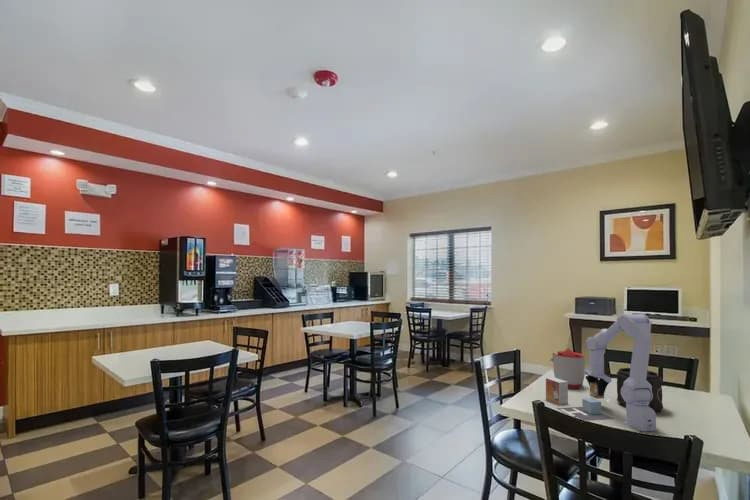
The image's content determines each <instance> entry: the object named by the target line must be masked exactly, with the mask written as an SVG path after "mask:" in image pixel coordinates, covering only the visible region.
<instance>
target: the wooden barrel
mask: <svg viewBox="0 0 750 500" xmlns="http://www.w3.org/2000/svg"><path fill="white" fill-rule="evenodd" d="M630 369H631V367H621V368H618V371H616V375H615V377H616V393H617V394H616V395H617V396H616V401H617V403H619V406H622V407H623V408H626V402H625V401H624V399H623V398H622V396H621V388H622V386H623V383H624V381H625V380H626V379H628V378H629V377H630ZM646 381H647V382H648V383H650V384H651V385H652V393H653V398H652V400H651V401H650V402H649V404H648V406H649V407H650V408H652V409H653V410H654V411H655V414H658V413H661V411H662V410H663V409H664V404H663V388H662V383H663V379H662V377H661V376H660V374H659V373H658V372H655V371H651V370H648V369H647V378H646Z"/></svg>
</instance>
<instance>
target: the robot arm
mask: <svg viewBox="0 0 750 500" xmlns="http://www.w3.org/2000/svg"><path fill="white" fill-rule="evenodd" d="M652 323H653V322H652V321H651V319H650V318H649V317H648V316H647V314H643V313H639V314H638V313H637V314H635V313H633V314H632V313H631V314H629V313H627V314H626V313H621V314H620V315H619V316H617V317H616V320H615V322H613V324H611V325H610V326H609V327H608V328H601V329H600V331H599V332H598V333H595V334H594V336H589V337H587V338H586V341H585V343H586V347H587V349H588V350H589V351H588V352H589V355H588V356H589V369H585V370H584V374H585V375H586V376H584V379H586V381H587V383H588V386H589V387H590V383H593V382H596V383H597V387H598V394H599V396H604V397H605V392H606V390H607V387H608V385H609V384H610V383H612V377H610V376H608V375H607V374H605V357H604V355H605V353H606V349H607V347H608V345H609V344H610V343H611V342H612V341H614V340H615V337H616V335H617V334H620V332H625V333H626V334H627V335H628V336H630V338H632V339H633V345H632V353H631V362H630V368H631V369H630V377H629V378H628V379H626V380H625V381H624V383H623V386H622V388H621V396H622V398H623V399H624V401H625V402H626V407H625V411H626V412H625V413H626V420H621V423H623V424H625V425H628V426H630V427H632V428H634V429H636V430H638V431H639V432H649V431H650V432H651V431H658V430H659V429H658V428H657V418H656V417H657V416H656V414H657V413H655V411H654V410H653V409H652V408H650V407H649V406H648V404H649V402H650V401H651V400H652V398H653V393H652V385H651V384H650V383H648V382H647V381H646V378H647V370H648V368H649V359H650V351H651V343H652V335H651V329H652V325H653V324H652Z"/></svg>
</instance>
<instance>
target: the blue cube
mask: <svg viewBox="0 0 750 500" xmlns="http://www.w3.org/2000/svg"><path fill="white" fill-rule="evenodd" d="M581 403H582V407H583V411H585V412H587V413H589V414H601V413H602V401H600V400H598V399H596V398H594V397H589V398H588V397H587V398H586V397H584V398H582V402H581Z"/></svg>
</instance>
